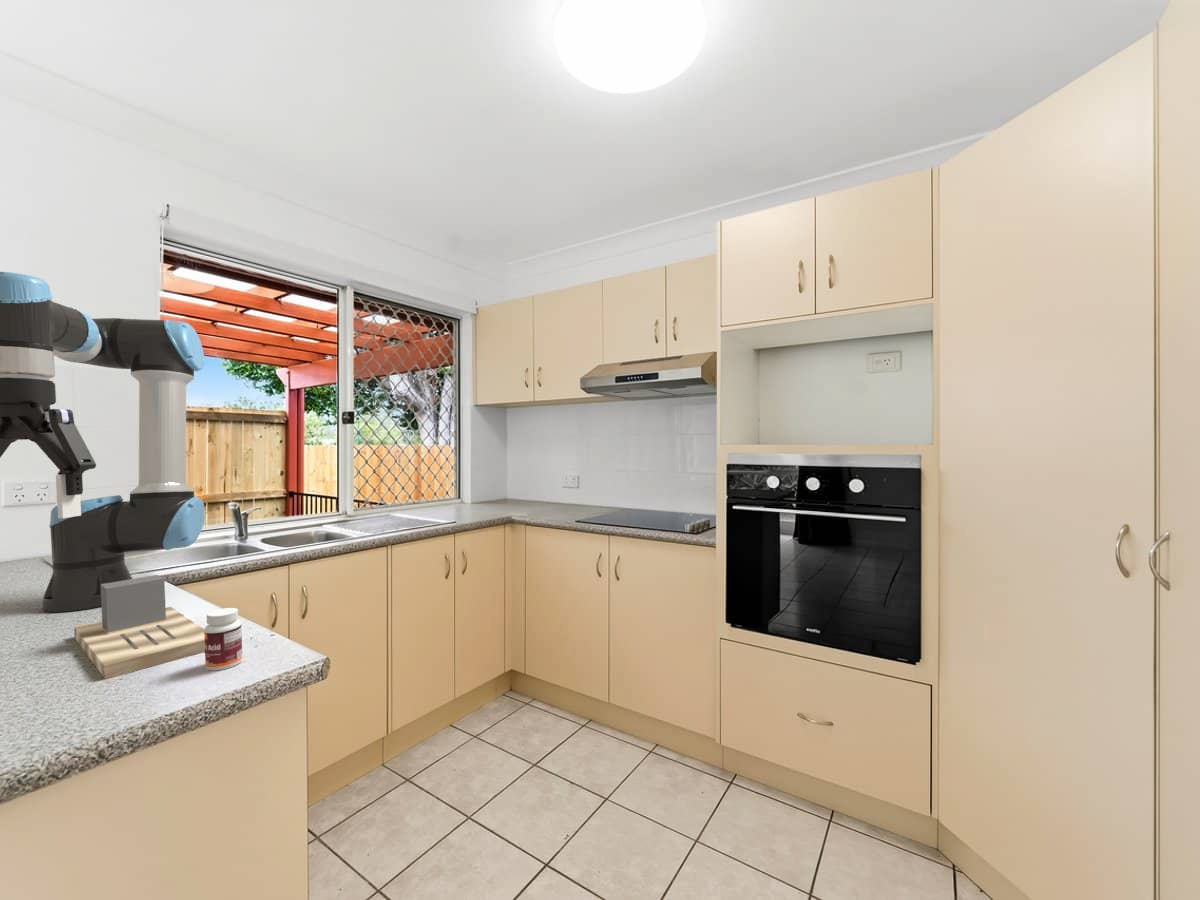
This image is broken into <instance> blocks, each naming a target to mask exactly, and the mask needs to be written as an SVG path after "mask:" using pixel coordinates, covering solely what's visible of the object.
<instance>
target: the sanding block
mask: <svg viewBox="0 0 1200 900" xmlns="http://www.w3.org/2000/svg"><path fill="white" fill-rule="evenodd" d="M165 585H166V584H165V578H164V577H162V576H160V575H159V574H153V575H148V576H142V577H136V578H132V579H129V580H123V581H118V582H112V583H106V584H101V606H100V607H101V621H102V628H103V630H104V631H105V632H106V633H107V634H112V633H117V632H121V631H126V630H130V629H135V628H139V627H143V626H148V625H152V624H157V623H161V622H166V608H167V607H166V590H165V587H166V586H165Z"/></svg>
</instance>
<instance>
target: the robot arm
mask: <svg viewBox="0 0 1200 900" xmlns="http://www.w3.org/2000/svg"><path fill="white" fill-rule="evenodd" d="M55 357H57V358H58V359H60V360H63V361H65V362H70V363H78V364H84V365H90V366H94V367H95V366H97V367H101V368H103V367H104V368H109V369H110V368H111V369H116V370H117V369H119V370H130V375H131V377H132V378H134V379H135V380H137V382H138V383H139V384H138V386H139V388H138V389H139V391H138V393H139V394H138V395H139V397H138V400H139V401H138V404H139V405H138V485H137V486H136V487H135V488H134V489H132V490H131V491H130V492H129V500H128V501H124V499H123V498H122V495H119V494H118V495H111V496H110V495H108V496H102V497H96V498H90V499H84V500H81V495H82V494H83V493H84V487H83V486H84V485H83V473H85V472H87V471H88V470H93V469H95V468H96V467H97V463H96V461H95V459H94V458H93V455H92V454H91V452H90V450H89V447H88V446H87V445H86V442H85V440H84V439H83V436H82V435H81V433H80V432H79V429H78V427H77V426H76V424H75V419H74V413H73V410H71V409H65V408H64V409H63V408H61V409H59V408H51V406H53V405H55V404H56V403H57V394H56V393H57V392H56V383H54V381H52V380H50V379H53V378H54V377H56V372H55V371H56V370H55ZM204 364H205V354H204V349H203V346H202V342H201V339H200V336H199V335H198V333H197V331H196V330H195V328H194V327H193V325H190V323H187V322H186V321H181V320H180V321H178V320H177V321H176V320H170V319H141V318H140V319H139V318H138V319H137V318H118V317H117V318H116V317H106V318H105V317H102V318H101V317H99V318H92V317H90V315H89V316H88V315H86V314H85V313H83V312H81V311H80V310H78V309H76V308H73V307H70V306H65V305H62V304H60V303H59V302H58V303H57V302H54V301H53V295H52V294H51V288H50V284H48V282H47V281H45V280H44V279H42V278H40V277H37V276H33V275H29V274H28V275H27V274H22V273H18V272H7V271H0V458H1V457H2V456H3V455H4V453H5V452H6V451H7V450H8V448H9V447H10V446H11V444H12V443H16V442H17V441H18V440H20V441H23V440H25V441H26V440H29V441H31V442H33V443H35V444H36V446H38V447H39V449H41V451H42V452H43V453H44V454H45V455H46V456H47V458H48V459H49V460H50V461H51V462H52V463H53V465H55V467H56V468H57V469H58V470H59V471H58V472H57V474H56V475H55V483H56V484H55V485H56V503H57V504H56V506H54V507H53V508H52V509H51V511H50V518H49V520H50V522H49V523H50V524H49V528H50V540H51V541H50V545H51V559H52V574H51V577H50V579H49V581H48V585H47V586H46V589H45V592H44V594H43V597H42V610H43V611H44V612H49V613H53V612H54V613H58V612H59V613H60V612H62V613H63V612H73V611H81V610H87V609H88V610H89V609H94V608H95V609H96V608H99V607H102V606H101V584H106V583H112V582H118V581H123V580H129V579H133V577H132V575H131V573H130V571H129V569H128V567H127V565H126V562H125V553H133V552H134V553H135V552H136V553H138V552H144V551H145V552H148V551H149V552H150V551H161V550H165V551H169V550H175V549H182V548H183V549H184V548H188V547H190V546H191V545H193V544H195V542H196V541H197V539H198V538H199V536H201V535H200V534H201V533H202V530H203V527H204V521H205V516H206V515H205V513H206V512H205V507H204V506H205V503H204V501H203V500H202V499H201V498H200V497H197V496H195V490H194V489H193V488H192V487H191V486H190V485H188V484H187V385H189V384H190V383H192V381H193V380H194V379H195V372H198V371H201V370H203V368H204Z"/></svg>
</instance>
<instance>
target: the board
mask: <svg viewBox="0 0 1200 900" xmlns="http://www.w3.org/2000/svg"><path fill="white" fill-rule="evenodd" d="M204 630H205V628H203V627H202V626H200V625H199V624H198V623H197V622H194V621H193V620H191V619H190V618H188V617H187V616H185V615H184V614H182V613H180V612H179V611H177V610H176V609H175V608H173V607H172V606H168V607H166V622H161V623H157V624H152V625H148V626H143V627H139V628H135V629H130V630H126V631H121V632H117V633H112V634H107V633H106V632H105V631H104V630H103V628H102V620H101V621H96V622H93V623H87V624H82V625H77V626H74V630H73V633H74V639H75V641H76V642H77V644H79V645H80V647H81V648H82V650H83V651H84V653H85V655H86V656H87V657H88V658H89V660H90V661H91V662H92V664H93V665H94V667H95V668H96V669H97V671H98V672H99V673H100V675H101V677H103V679H104V680H107V679H110V678H114V677H118V676H120V675H125V674H128V673H129V674H130V673H131V672H136V671H140V670H143V669H147V668H151V667H154V666H155V667H156V666H157V665H161V664H166V663H169V662H173V661H177V660H179V659H182V658H183V659H184V658H187V657H191V656H195V655H198V654H202V653H205V636H204Z"/></svg>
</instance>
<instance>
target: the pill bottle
mask: <svg viewBox="0 0 1200 900" xmlns="http://www.w3.org/2000/svg"><path fill="white" fill-rule="evenodd" d="M206 624H207V625H206V626H205V628H204V629H205V630H204V636H205V652H204V656H205V657H204V659H205V660H204V661H205V668H206V669H207V670H208V671H221V670H225V669H229V668H233V667H235V666H238V665H239V664H241V663H242V661H243V642H242V641H243V637H242V636H243V633H242V630H243V629H242V622H241V621H240V620H239V609H238V608H237V607H225V608H220V609H216V610H213V611H209V612H208V613H207V614H206Z"/></svg>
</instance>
